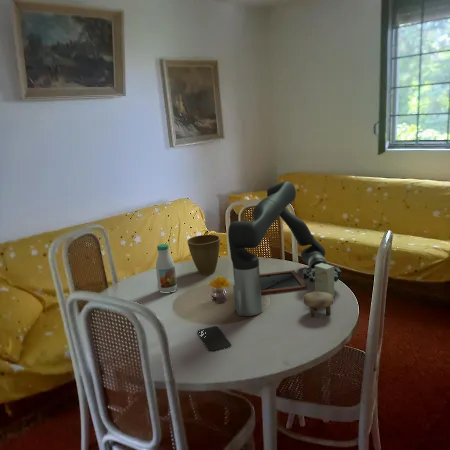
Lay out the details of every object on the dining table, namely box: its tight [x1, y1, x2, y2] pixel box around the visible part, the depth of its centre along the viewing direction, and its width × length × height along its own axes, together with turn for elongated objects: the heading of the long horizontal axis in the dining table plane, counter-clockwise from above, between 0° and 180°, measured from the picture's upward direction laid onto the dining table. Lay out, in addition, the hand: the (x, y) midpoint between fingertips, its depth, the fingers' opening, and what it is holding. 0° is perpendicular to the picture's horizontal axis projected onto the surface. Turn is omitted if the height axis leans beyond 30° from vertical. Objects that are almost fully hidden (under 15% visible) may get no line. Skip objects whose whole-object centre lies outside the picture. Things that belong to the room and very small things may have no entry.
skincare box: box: [314, 263, 335, 298], centre depth 166 cm, size 6×4×12 cm
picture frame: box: [260, 269, 308, 296], centre depth 184 cm, size 20×2×25 cm
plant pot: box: [186, 234, 221, 276], centre depth 203 cm, size 15×15×16 cm
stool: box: [302, 291, 334, 319], centre depth 153 cm, size 10×10×6 cm
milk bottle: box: [155, 243, 178, 292], centre depth 184 cm, size 8×8×20 cm
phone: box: [197, 325, 232, 352], centre depth 143 cm, size 7×1×15 cm
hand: (324, 279), depth 166 cm, fingers open, 8 cm apart
